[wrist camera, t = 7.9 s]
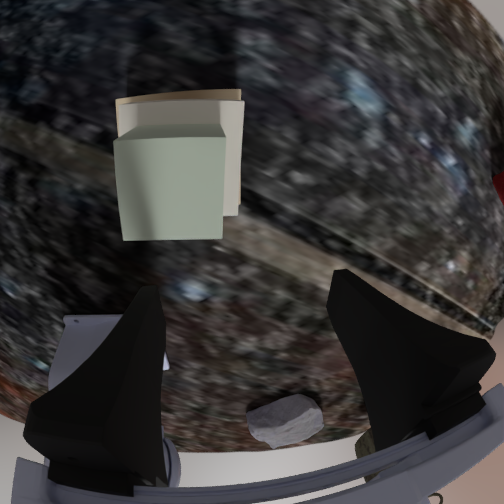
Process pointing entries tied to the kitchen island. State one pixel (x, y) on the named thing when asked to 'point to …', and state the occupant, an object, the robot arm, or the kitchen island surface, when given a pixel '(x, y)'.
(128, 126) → the cream top block
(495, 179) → the strawberry
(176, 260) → the kitchen island surface
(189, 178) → the sage cube
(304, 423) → the stone block
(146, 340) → the robot arm
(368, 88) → the kitchen island surface
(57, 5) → the kitchen island surface
